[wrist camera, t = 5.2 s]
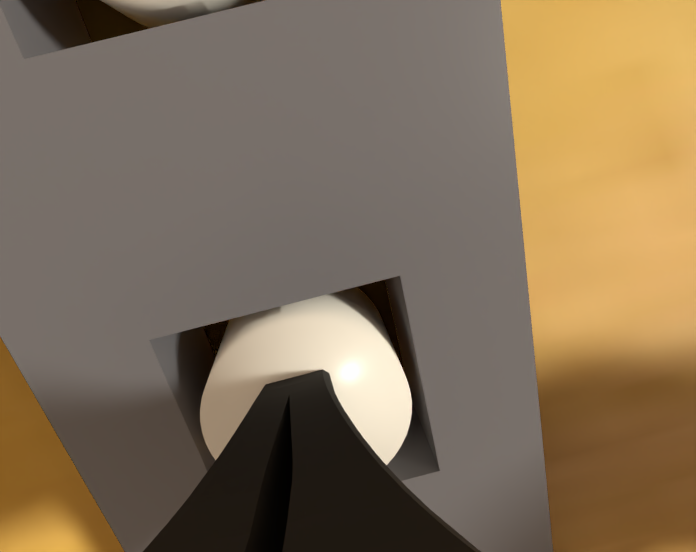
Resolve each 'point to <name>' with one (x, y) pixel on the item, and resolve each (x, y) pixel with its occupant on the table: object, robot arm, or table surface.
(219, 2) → the button
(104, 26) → the table surface
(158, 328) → the control strip
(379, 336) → the button mid
